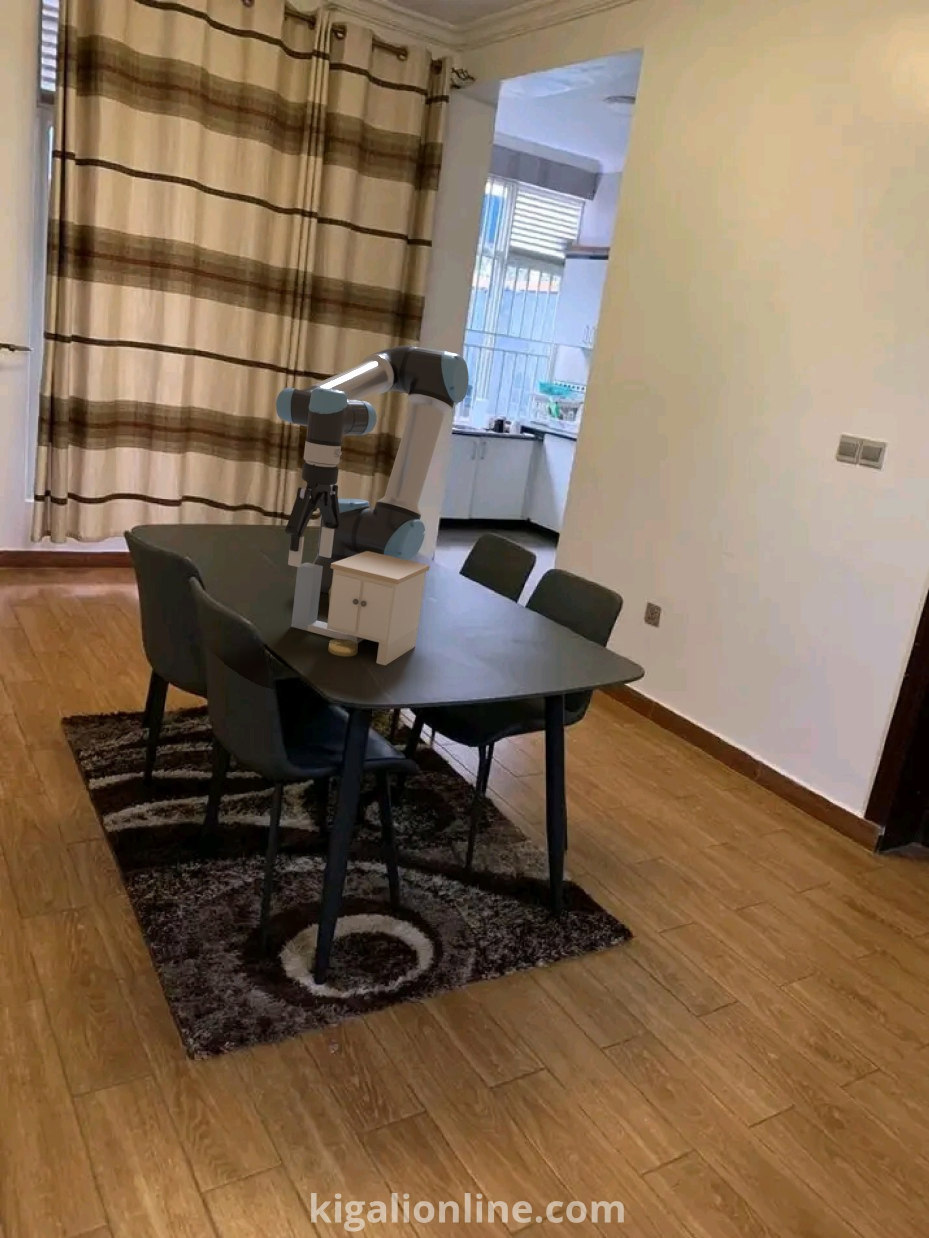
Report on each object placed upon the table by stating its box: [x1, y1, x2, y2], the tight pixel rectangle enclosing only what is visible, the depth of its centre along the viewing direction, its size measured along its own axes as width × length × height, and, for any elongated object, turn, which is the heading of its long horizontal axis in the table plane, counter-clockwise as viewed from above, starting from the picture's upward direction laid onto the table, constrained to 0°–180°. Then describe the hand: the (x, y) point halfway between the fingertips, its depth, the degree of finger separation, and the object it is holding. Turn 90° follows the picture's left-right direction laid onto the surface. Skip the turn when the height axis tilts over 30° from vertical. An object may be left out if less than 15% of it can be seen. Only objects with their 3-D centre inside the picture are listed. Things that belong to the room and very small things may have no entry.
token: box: [328, 638, 359, 658], centre depth 195 cm, size 6×6×2 cm
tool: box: [290, 562, 366, 644], centre depth 203 cm, size 16×4×14 cm, turn 70°
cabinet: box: [326, 551, 431, 666], centre depth 197 cm, size 15×18×18 cm
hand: (310, 561), depth 203 cm, fingers open, 13 cm apart
